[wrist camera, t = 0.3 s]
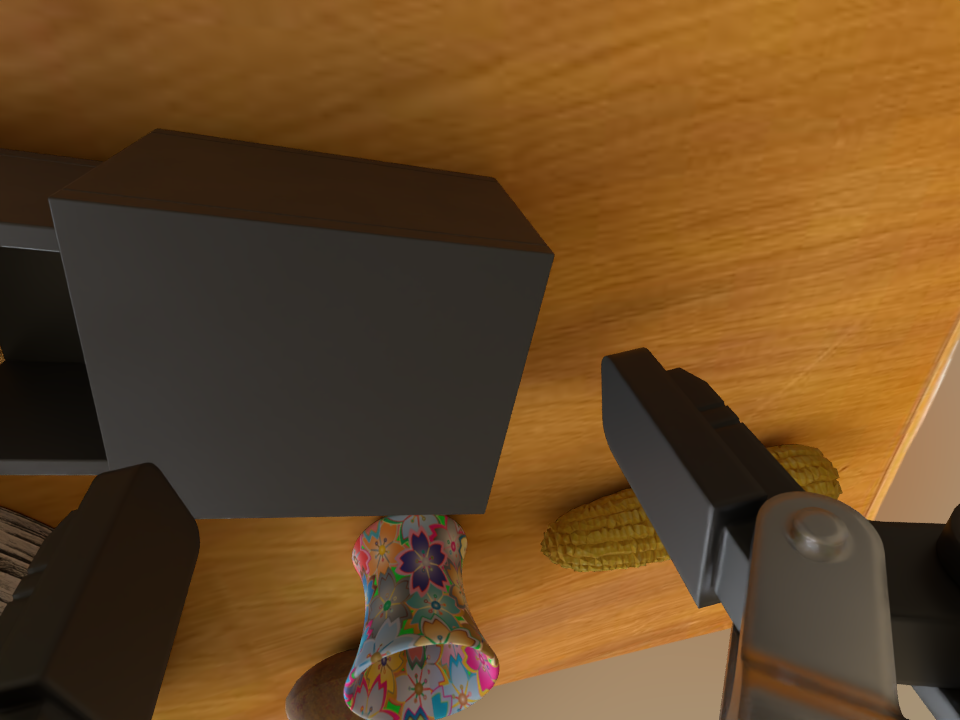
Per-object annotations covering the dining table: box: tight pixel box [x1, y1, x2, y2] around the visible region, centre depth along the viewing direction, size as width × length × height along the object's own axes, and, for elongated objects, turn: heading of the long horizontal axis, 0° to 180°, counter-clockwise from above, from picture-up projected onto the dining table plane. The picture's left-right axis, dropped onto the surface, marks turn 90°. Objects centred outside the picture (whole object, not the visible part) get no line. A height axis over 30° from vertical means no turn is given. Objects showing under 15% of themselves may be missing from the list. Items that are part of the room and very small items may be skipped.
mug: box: [344, 515, 499, 720], centre depth 36 cm, size 11×9×10 cm
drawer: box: [0, 148, 110, 475], centre depth 20 cm, size 18×11×8 cm, turn 79°
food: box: [541, 444, 842, 572], centre depth 39 cm, size 21×6×6 cm, turn 103°
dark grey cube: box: [48, 129, 554, 519], centre depth 24 cm, size 15×13×10 cm
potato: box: [286, 649, 367, 720], centre depth 43 cm, size 7×12×7 cm, turn 90°
